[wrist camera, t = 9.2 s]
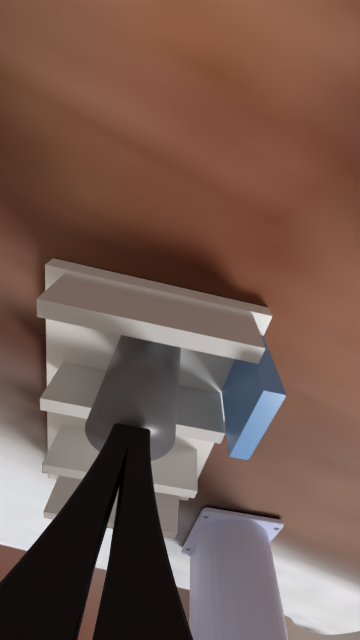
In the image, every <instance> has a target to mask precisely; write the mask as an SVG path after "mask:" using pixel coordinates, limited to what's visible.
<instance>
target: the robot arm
mask: <svg viewBox="0 0 360 640" xmlns="http://www.w3.org/2000/svg"><path fill="white" fill-rule="evenodd" d="M150 433H151V431H150V430H149V429H146V428H141V427H135V426H130V425H125V424H119V423H116V424H113V427H112V429H111V432H110V434H109V436H108V438H107V440H106V442H105V444H104V446H103V447H102V449H101V451H100V453H99V454H98V456H97V458H96V459H95V461H94V462H93V464H92V466H91V467H90V469H89V470H88V472H87V473H86V475H85V477H84V478H83V480H82V481H81V482H80V484H79V485H78V487H77V488H76V490H75V491H74V492H73V494H72V495H71V497H70V498H69V499H68V501H67V502H66V504H65V505H64V506H63V508H62V509H61V510H60V512H59V513H58V514H57V515H56V517H55V518H54V519H53V521H52V522H51V523H50V524H49V526H48V527H47V528H46V529H45V531H44V532H43V533H42V534H41V536H40V537H39V538H38V539H37V541H36V542H35V543H34V544H33V545H32V546H31V548H30V549H29V550H28V551H27V552H26V554H25V555H24V556H23V557H22V558H21V559H20V561H19V562H18V563H17V564H16V565H15V566H14V567H13V569H12V570H11V571H10V572H9V573H8V574H7V575H6V577H5V578H4V579H3V580H2V581H1V582H0V640H77V639H78V635H79V631H80V627H81V622H82V618H83V614H84V610H85V605H86V601H87V597H88V593H89V589H90V584H91V580H92V576H93V572H94V568H95V565H96V561H97V557H98V554H99V551H100V547H101V544H102V541H103V538H104V535H105V531H106V528H107V525H108V522H109V518H110V515H111V512H112V509H113V505H114V502H115V499H116V496H117V492H118V489H119V492H118V499H117V506H116V513H115V520H114V527H113V534H112V541H111V548H110V555H109V561H108V567H107V573H106V578H105V582H104V587H103V592H102V597H101V602H100V606H99V611H98V615H97V621H96V625H95V630H94V634H93V639H92V640H289V639H288V633H287V628H286V624H285V618H284V613H283V608H282V603H281V598H280V593H279V588H278V583H277V578H276V572H275V567H274V562H273V557H272V552H271V547H270V542H271V541H272V539H273V538H274V537H275V536H276V535H277V534H278V532H279V531H280V530H281V529H282V528H283V526H284V524H283V521H282V520H280V519H274V518H268V517H262V516H256V515H250V514H244V513H238V512H232V511H226V510H220V509H214V508H208V507H206V508H203V509H202V511H201V513H200V515H199V517H198V519H197V521H196V522H195V524H194V526H193V528H192V530H191V532H190V534H189V536H188V538H187V540H186V542H185V543H184V545H183V547H182V554H183V555H187V556H190V628H189V625H188V622H187V619H186V616H185V613H184V609H183V606H182V603H181V600H180V597H179V593H178V590H177V587H176V584H175V580H174V577H173V573H172V569H171V566H170V562H169V558H168V554H167V550H166V546H165V542H164V538H163V533H162V529H161V524H160V519H159V514H158V509H157V503H156V497H155V491H154V484H153V476H152V467H151V455H150Z"/></svg>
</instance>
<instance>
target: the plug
mask: <svg viewBox="0 0 360 640" xmlns="http://www.w3.org/2000/svg"><path fill="white" fill-rule="evenodd" d="M180 358H181V347H176V346H171V345H167V344H162V343H157V342H153V341H148V340H143V339H138V338H134V337H129V336H124V335H121V337H120V339H119V342H118V344H117V346H116V349H115V351H114V354H113V356H112V359H111V361H110V364H109V366H108V369H107V371H106V374H105V376H104V379H103V381H102V384H101V386H100V389H99V391H98V393H97V396H96V398H95V401H94V403H93V406H92V408H91V411H90V413H89V416H88V418H87V421H86V424H85V433H86V436H87V439H88V440H89V442H90V443H91V445H92V446H93V447H94V448H95V449H97V450H98V451H99V452H100V451H101V449H102V447H103V446H104V444H105V442H106V440H107V438H108V436H109V434H110V432H111V429H112V427H113V424H116V423H119V424H125V425H130V426H135V427H141V428H146V429H149V430H150V431H151V433H150V455H151V461H153V460H156V459H159V458H161V457H162V456H164V455H166V454H167V453H168V452H169V451H170V450H171V449H172V447H173V445H174V443H175V435H176V420H177V404H178V389H179V373H180Z"/></svg>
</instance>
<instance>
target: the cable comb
mask: <svg viewBox="0 0 360 640" xmlns="http://www.w3.org/2000/svg"><path fill="white" fill-rule="evenodd" d="M37 317H39V318H44V319H46V364H47V388H46V389H45V391H44V393H43V394H42V396H41V397H40V410H43V411H47V430H48V453H47V455H46V457H45V460H44V462H43V464H42V473H47V474H48V477H49V478H55V479H57V481H56V484H55V486H54V488H53V491H52V493H51V495H50V498H49V500H48V503H47V505H46V507H45V510H44V518H48V519H54V518H55V517H56V515H57V514H58V513H59V512H60V510H61V509H62V508H63V506H64V505H65V504H66V502H67V501H68V499H69V498H70V497H71V495H72V494H73V492H74V491H75V490H76V488H77V487H78V485H79V484H80V482H81V481H82V480H83V478H84V477H85V475H86V473H87V472H88V470H89V469H90V467H91V466H92V464H93V462H94V461H95V459H96V458H97V456H98V454H99V453H100V452H99V451H98V450H97V449H95V448H94V447H93V446H92V445H91V443H90V442H89V440H88V439H87V436H86V433H85V424H86V421H87V418H88V416H89V413H90V411H91V408H92V406H93V403H94V401H95V398H96V396H97V393H98V391H99V389H100V386H101V384H102V381H103V379H104V376H105V374H106V371H107V369H108V366H109V364H110V361H111V359H112V356H113V354H114V351H115V349H116V346H117V344H118V342H119V339H120V337H121V335H124V336H129V337H134V338H138V339H143V340H148V341H153V342H157V343H162V344H167V345H171V346H176V347H181V358H180V373H179V389H178V404H177V420H176V435H175V443H174V445H173V447H172V449H171V450H170V451H169V452H168V453H167V454H166V455H164V456H162V457H161V458H159V459H156V460H153V461H151V467H152V476H153V484H154V491H155V497H156V503H157V509H158V514H159V519H160V524H161V529H162V533H163V537H169V538H176V535H177V533H178V512H179V499H180V500H186V501H188V499H189V498H195V496H196V494H197V491H198V486H197V480H198V477H199V475H200V473H201V471H202V469H203V466H204V464H205V462H206V460H207V458H208V456H209V453H210V451H211V449H212V447H213V445H214V443H219V444H220V443H221V441H222V439H223V437H224V435H225V428H224V421H225V425H226V433H227V442H228V450H229V457H234V458H240V459H245V460H249V458H250V457H251V455H252V453H253V451H254V450H255V448H256V446H257V445H258V443H259V441H260V440H261V438H262V436H263V434H264V433H265V431H266V429H267V428H268V426H269V424H270V422H271V421H272V419H273V417H274V416H275V414H276V412H277V410H278V409H279V407H280V405H281V404H282V402H283V400H284V398H285V397H286V393H285V390H284V388H283V385H282V383H281V380H280V377H279V375H278V372H277V370H276V367H275V365H274V362H273V359H272V357H271V354H270V352H269V349H268V347H267V344H266V341H265V339H264V333H265V331H266V329H267V327H268V325H269V323H270V320H271V318H272V314H271V312H270V310H269V308H268V307H264V306H259V305H255V304H251V303H246V302H242V301H238V300H233V299H229V298H224V297H220V296H216V295H211V294H207V293H203V292H198V291H194V290H190V289H185V288H181V287H176V286H172V285H168V284H163V283H159V282H155V281H150V280H146V279H142V278H137V277H133V276H128V275H124V274H120V273H115V272H111V271H107V270H102V269H98V268H94V267H89V266H85V265H80V264H76V263H72V262H67V261H63V260H59V259H54V258H53V259H52V260H51V261H49V262H48V263H46V264H45V291H44V292H43V293H42V294H41V295H40V296H39V297H38V298H37ZM118 492H119V489H118ZM118 492H117V496H116V499H115V502H114V505H113V509H112V512H111V515H110V518H109V522H108V525H107V528H112V529H113V527H114V520H115V513H116V506H117V499H118Z"/></svg>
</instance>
